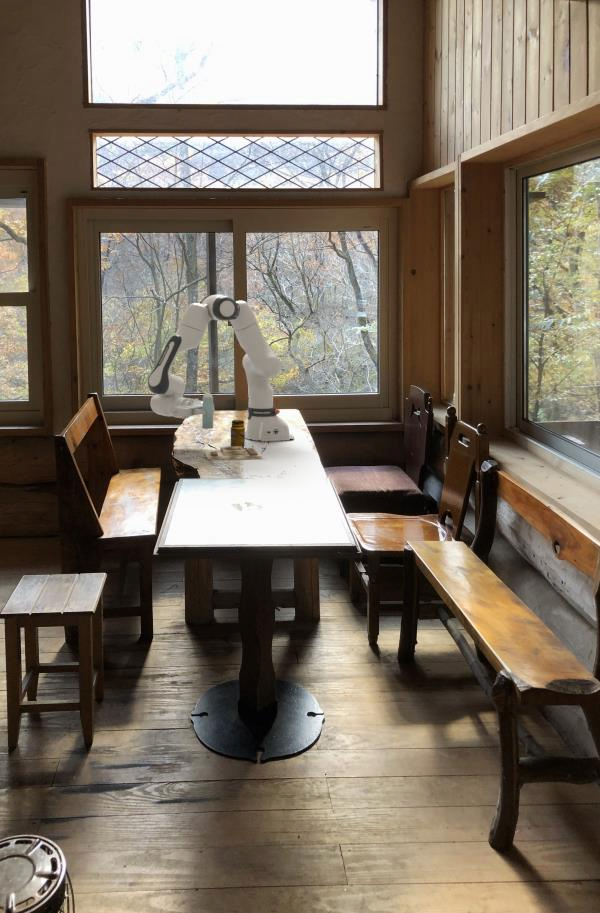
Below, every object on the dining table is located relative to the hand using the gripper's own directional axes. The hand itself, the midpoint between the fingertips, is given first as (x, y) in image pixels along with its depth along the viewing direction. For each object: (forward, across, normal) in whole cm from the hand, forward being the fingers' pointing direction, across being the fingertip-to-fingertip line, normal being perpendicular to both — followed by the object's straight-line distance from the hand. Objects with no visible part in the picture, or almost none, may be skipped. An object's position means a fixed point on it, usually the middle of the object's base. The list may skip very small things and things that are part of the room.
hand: (209, 411), depth 382 cm
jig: (+14, -2, +17) cm, 22 cm away
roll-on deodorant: (-1, 0, +7) cm, 7 cm away
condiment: (+5, +12, +17) cm, 21 cm away
